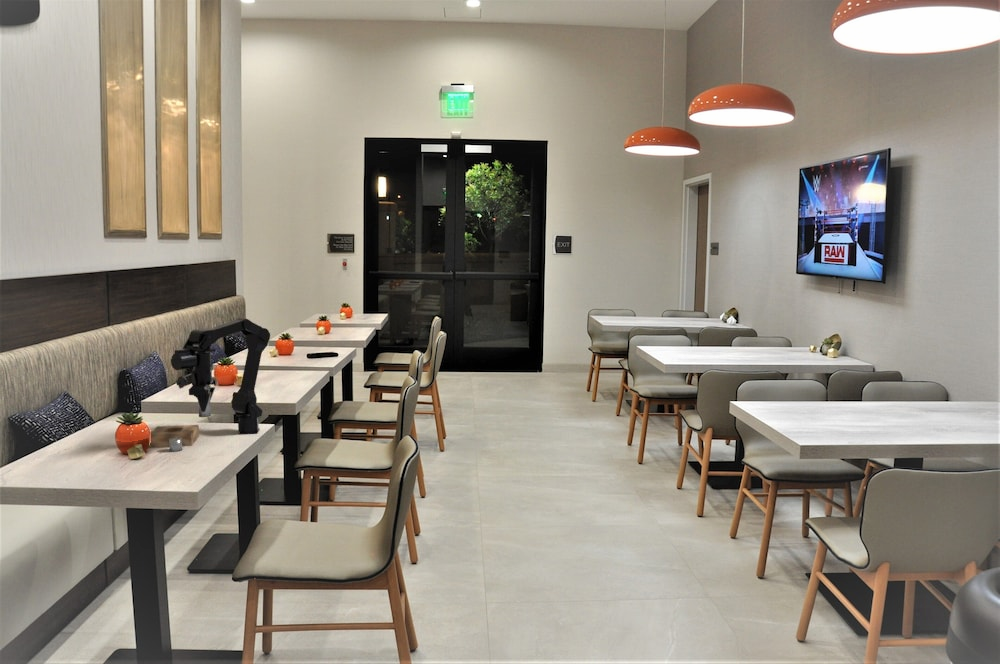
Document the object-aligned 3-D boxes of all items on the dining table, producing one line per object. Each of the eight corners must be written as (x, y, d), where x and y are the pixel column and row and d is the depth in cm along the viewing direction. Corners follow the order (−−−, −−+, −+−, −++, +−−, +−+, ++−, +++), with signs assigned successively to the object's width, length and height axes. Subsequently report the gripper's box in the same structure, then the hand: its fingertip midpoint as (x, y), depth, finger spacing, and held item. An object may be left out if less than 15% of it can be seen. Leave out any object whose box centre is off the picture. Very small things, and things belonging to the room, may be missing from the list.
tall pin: (212, 414, 269) (210, 392, 268) (209, 417, 265) (208, 394, 264) (200, 414, 268) (198, 392, 267) (197, 417, 264) (196, 394, 263)
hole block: (199, 436, 277) (198, 424, 277) (191, 445, 266) (191, 433, 265) (158, 438, 275) (157, 426, 274) (148, 447, 263) (148, 435, 263)
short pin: (183, 448, 262) (183, 437, 262) (180, 451, 258) (180, 440, 258) (171, 449, 262) (170, 437, 261) (168, 452, 258) (167, 440, 257)
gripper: (183, 362, 272) (185, 405, 274) (171, 371, 254) (173, 417, 256) (216, 361, 274) (218, 404, 276) (206, 370, 256) (209, 416, 258)
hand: (204, 410), depth 266 cm, fingers closed on tall pin, 4 cm apart
